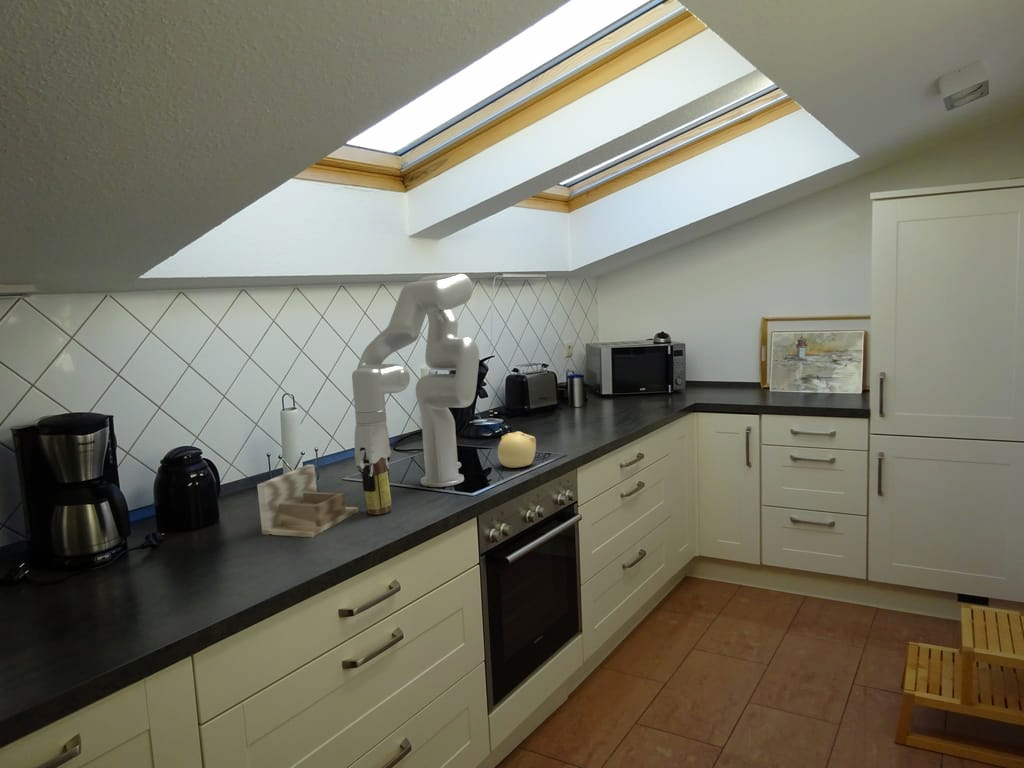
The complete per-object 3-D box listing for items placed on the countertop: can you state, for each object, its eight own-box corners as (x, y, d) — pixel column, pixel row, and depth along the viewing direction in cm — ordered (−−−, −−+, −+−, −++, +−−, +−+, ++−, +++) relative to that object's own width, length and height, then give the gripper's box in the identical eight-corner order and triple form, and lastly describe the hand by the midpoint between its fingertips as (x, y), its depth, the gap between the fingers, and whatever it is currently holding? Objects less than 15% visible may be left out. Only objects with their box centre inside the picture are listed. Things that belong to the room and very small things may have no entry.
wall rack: (312, 509, 187) (307, 464, 186) (358, 511, 182) (354, 465, 181) (262, 534, 168) (257, 484, 167) (312, 537, 164) (307, 486, 162)
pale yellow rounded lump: (541, 462, 225) (539, 428, 224) (527, 471, 214) (525, 436, 213) (507, 461, 229) (505, 428, 228) (492, 470, 218) (490, 435, 217)
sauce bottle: (389, 507, 184) (383, 432, 182) (393, 513, 179) (387, 435, 176) (364, 511, 182) (357, 435, 180) (367, 517, 177) (360, 439, 174)
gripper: (375, 411, 187) (380, 478, 189) (338, 423, 171) (345, 496, 173) (400, 411, 184) (405, 479, 187) (366, 423, 168) (372, 497, 170)
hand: (376, 486), depth 180 cm, fingers closed on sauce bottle, 6 cm apart
